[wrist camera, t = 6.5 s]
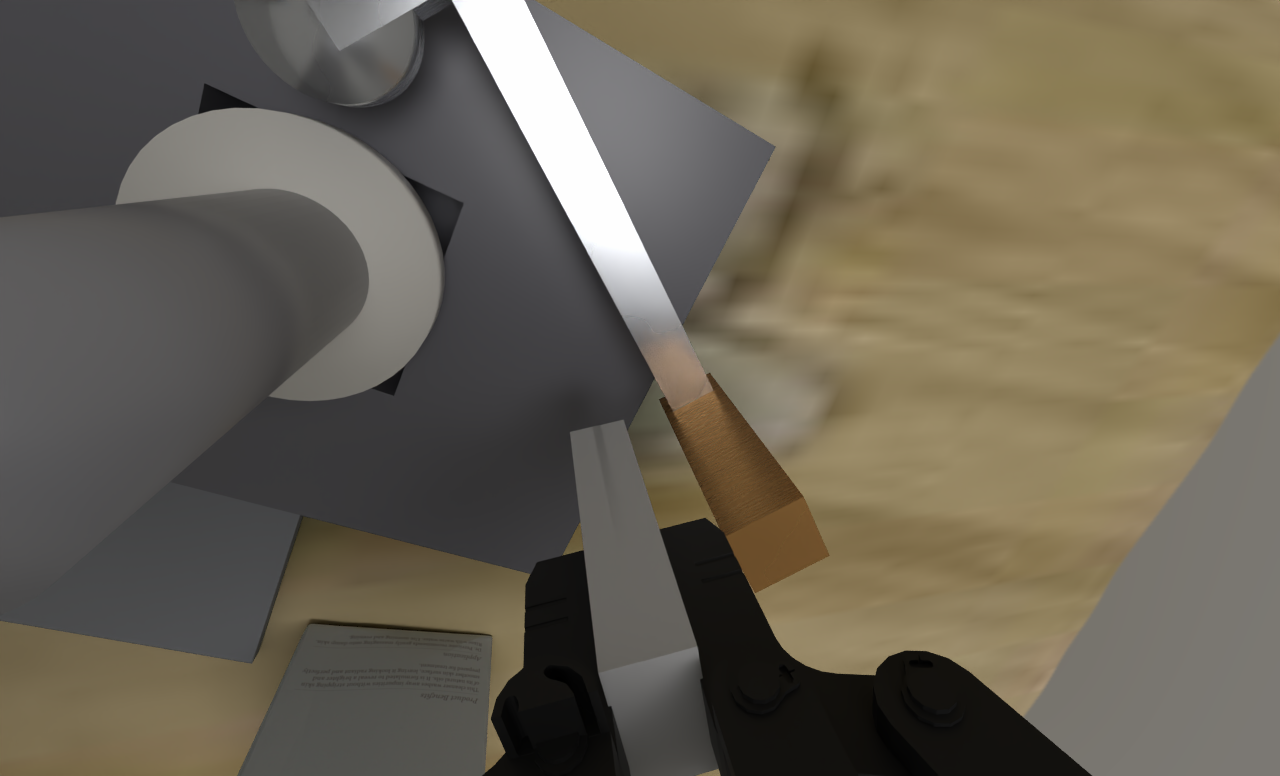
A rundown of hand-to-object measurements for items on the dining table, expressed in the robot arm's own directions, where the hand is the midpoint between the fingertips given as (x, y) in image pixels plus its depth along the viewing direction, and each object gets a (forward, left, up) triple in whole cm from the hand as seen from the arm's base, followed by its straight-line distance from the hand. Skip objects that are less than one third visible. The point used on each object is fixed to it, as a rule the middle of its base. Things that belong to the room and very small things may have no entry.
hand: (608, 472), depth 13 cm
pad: (-13, -13, -8) cm, 20 cm away
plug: (-9, +1, -8) cm, 12 cm away
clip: (-4, +4, -2) cm, 6 cm away
